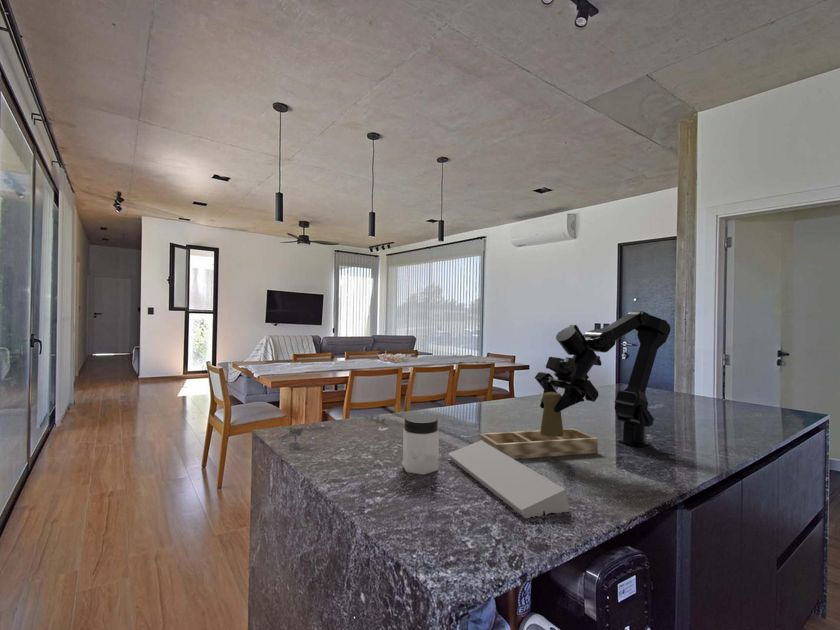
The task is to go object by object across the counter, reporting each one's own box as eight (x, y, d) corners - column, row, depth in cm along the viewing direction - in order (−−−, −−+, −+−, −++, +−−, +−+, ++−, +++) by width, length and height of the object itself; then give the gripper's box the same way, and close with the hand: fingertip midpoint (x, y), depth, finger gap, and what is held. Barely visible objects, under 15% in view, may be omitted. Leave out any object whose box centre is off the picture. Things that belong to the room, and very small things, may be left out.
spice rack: (573, 441, 128) (573, 428, 128) (597, 452, 118) (597, 438, 118) (478, 447, 120) (479, 433, 120) (496, 460, 109) (496, 444, 109)
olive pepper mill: (541, 429, 118) (542, 390, 118) (564, 432, 115) (565, 391, 115) (538, 434, 112) (539, 393, 112) (562, 437, 110) (562, 395, 110)
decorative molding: (527, 534, 77) (570, 513, 81) (521, 510, 77) (565, 489, 80) (451, 470, 110) (485, 457, 113) (447, 453, 109) (481, 440, 113)
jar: (396, 471, 100) (397, 420, 100) (408, 460, 108) (409, 413, 108) (433, 476, 97) (434, 424, 97) (442, 465, 105) (443, 416, 105)
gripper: (540, 344, 124) (509, 384, 119) (590, 348, 107) (557, 395, 102) (560, 370, 127) (531, 409, 122) (612, 378, 110) (581, 424, 106)
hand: (548, 409), depth 113 cm, fingers closed on olive pepper mill, 5 cm apart
